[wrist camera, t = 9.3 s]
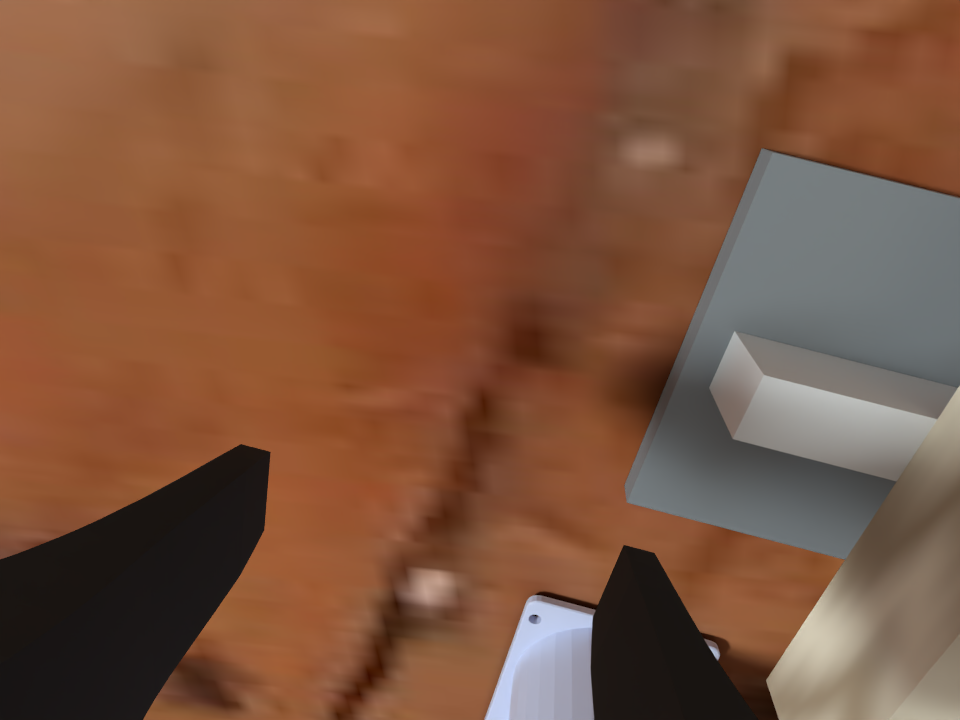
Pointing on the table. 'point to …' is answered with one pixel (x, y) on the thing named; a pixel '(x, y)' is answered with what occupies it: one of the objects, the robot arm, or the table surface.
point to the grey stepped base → (809, 358)
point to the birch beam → (889, 606)
